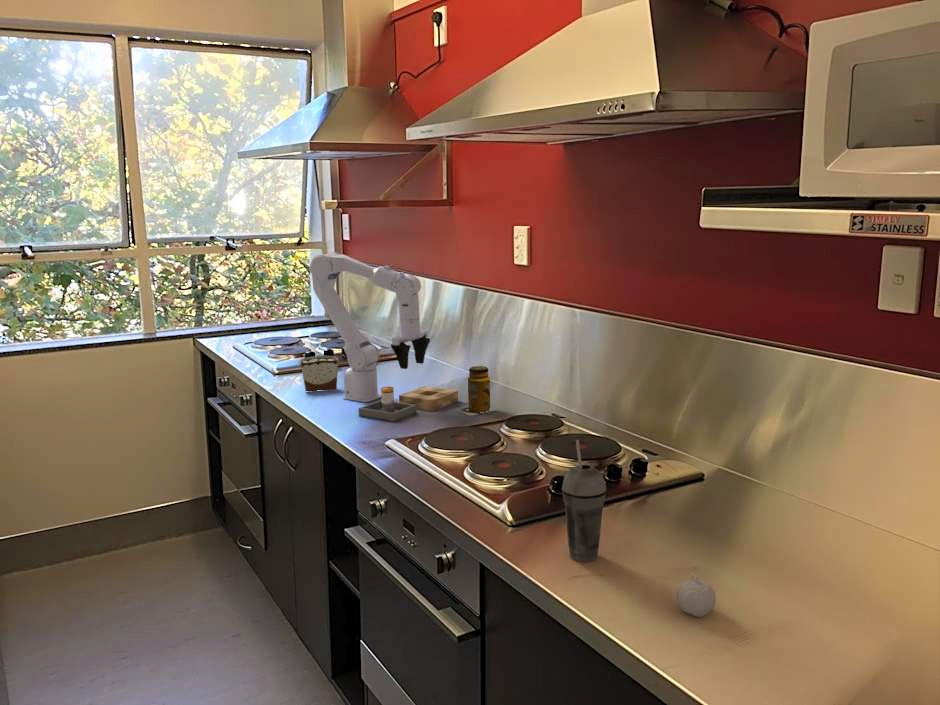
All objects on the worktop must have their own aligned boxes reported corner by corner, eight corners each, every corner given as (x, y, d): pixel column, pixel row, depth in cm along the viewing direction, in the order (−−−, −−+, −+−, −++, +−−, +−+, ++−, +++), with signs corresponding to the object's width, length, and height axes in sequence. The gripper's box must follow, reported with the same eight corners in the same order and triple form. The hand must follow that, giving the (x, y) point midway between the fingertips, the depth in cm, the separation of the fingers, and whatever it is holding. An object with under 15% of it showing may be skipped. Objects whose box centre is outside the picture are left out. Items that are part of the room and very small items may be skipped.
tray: (358, 416, 218) (358, 408, 217) (382, 407, 226) (381, 399, 226) (394, 422, 211) (393, 413, 211) (416, 413, 220) (416, 405, 219)
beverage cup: (613, 562, 130) (615, 443, 126) (572, 569, 128) (572, 448, 124) (594, 544, 137) (595, 430, 133) (554, 550, 135) (554, 435, 131)
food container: (338, 385, 254) (336, 354, 252) (341, 389, 248) (339, 357, 246) (298, 388, 250) (296, 357, 248) (301, 393, 244) (298, 361, 242)
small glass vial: (379, 413, 218) (378, 388, 216) (386, 410, 221) (385, 386, 219) (389, 415, 216) (388, 390, 215) (397, 412, 219) (395, 387, 218)
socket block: (399, 405, 228) (398, 395, 227) (424, 396, 238) (423, 386, 237) (434, 411, 221) (433, 400, 221) (458, 401, 231) (457, 390, 231)
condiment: (496, 411, 220) (496, 368, 218) (471, 416, 216) (470, 372, 213) (481, 405, 226) (480, 363, 224) (456, 410, 222) (455, 368, 219)
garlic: (676, 598, 118) (677, 565, 117) (715, 603, 116) (716, 570, 115) (674, 619, 112) (675, 585, 111) (715, 624, 111) (716, 590, 110)
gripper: (405, 323, 220) (407, 372, 222) (435, 315, 232) (437, 361, 234) (384, 322, 223) (387, 369, 226) (416, 314, 235) (418, 360, 238)
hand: (412, 365), depth 230 cm, fingers open, 7 cm apart
